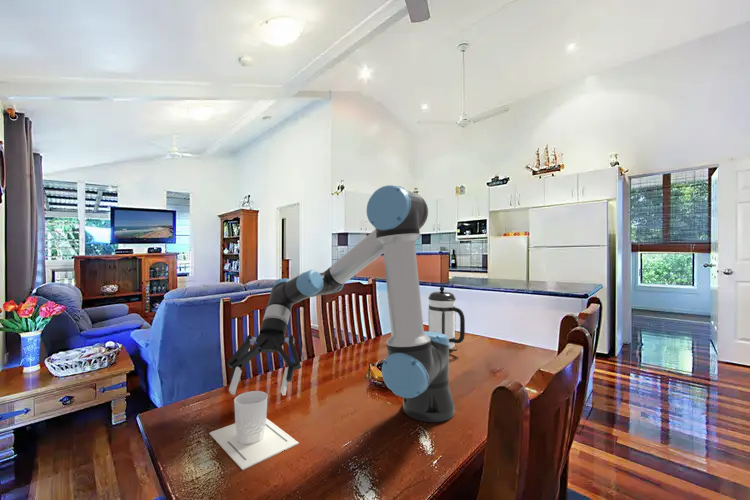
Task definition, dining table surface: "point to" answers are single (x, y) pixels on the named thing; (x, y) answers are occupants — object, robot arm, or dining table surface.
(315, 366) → the dining table surface
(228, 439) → the paper sheet
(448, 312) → the coffee press
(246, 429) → the white cup
